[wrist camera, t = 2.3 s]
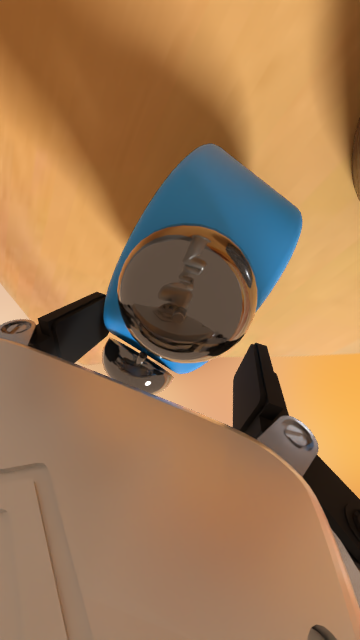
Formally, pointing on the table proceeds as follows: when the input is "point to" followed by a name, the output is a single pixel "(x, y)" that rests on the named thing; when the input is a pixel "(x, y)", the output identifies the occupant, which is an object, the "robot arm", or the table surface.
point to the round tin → (356, 161)
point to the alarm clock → (195, 269)
